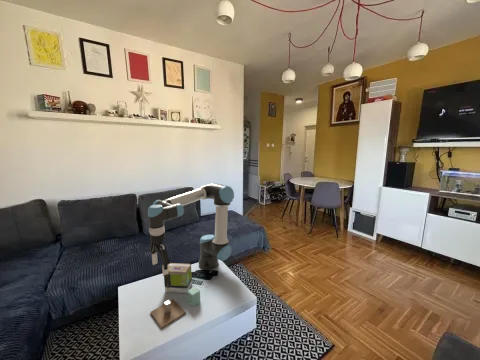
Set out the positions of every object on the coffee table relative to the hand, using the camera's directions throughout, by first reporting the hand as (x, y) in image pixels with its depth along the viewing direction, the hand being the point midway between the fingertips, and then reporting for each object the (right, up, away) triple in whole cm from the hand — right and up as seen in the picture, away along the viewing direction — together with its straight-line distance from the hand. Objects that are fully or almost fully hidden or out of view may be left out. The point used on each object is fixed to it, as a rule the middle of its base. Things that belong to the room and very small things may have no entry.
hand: (160, 268), depth 117 cm
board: (+5, -25, -1) cm, 25 cm away
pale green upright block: (+17, -23, +8) cm, 30 cm away
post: (+5, -25, -1) cm, 25 cm away
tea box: (+5, -21, +20) cm, 30 cm away
